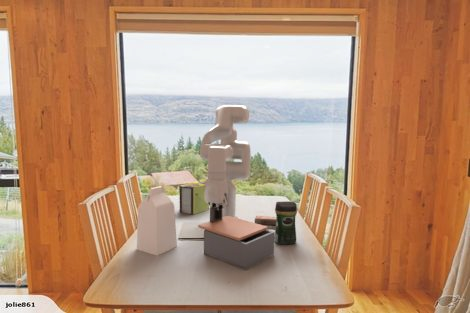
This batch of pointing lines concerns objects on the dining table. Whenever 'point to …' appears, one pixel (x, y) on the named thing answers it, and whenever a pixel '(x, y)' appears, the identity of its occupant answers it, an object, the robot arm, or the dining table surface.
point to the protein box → (193, 198)
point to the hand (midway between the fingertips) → (216, 217)
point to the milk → (156, 223)
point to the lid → (231, 226)
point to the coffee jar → (285, 222)
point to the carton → (240, 248)
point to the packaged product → (266, 221)
